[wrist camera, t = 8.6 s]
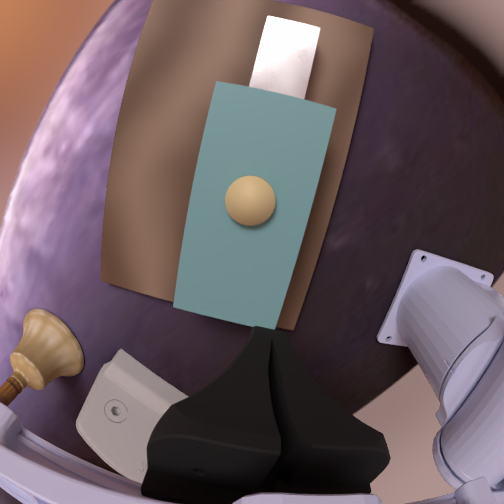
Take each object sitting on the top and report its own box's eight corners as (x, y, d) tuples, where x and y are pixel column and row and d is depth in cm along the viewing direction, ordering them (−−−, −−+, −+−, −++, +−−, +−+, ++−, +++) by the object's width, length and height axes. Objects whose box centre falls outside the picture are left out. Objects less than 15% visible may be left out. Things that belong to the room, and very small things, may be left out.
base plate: (369, 33, 15) (373, 28, 14) (292, 323, 22) (293, 330, 21) (160, -3, 15) (156, -8, 14) (106, 275, 22) (100, 280, 21)
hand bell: (74, 386, 27) (6, 487, 12) (21, 339, 26) (-60, 423, 11) (94, 346, 25) (3, 470, 10) (32, 292, 23) (-78, 383, 8)
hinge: (257, 436, 27) (227, 519, 19) (232, 440, 30) (203, 513, 22) (117, 345, 24) (59, 431, 16) (107, 359, 27) (57, 433, 19)
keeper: (323, 117, 17) (338, 107, 13) (273, 301, 21) (274, 336, 17) (226, 94, 17) (214, 78, 13) (189, 280, 21) (170, 311, 17)
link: (278, 229, 19) (279, 238, 17) (215, 215, 19) (209, 222, 17) (323, 41, 15) (329, 30, 13) (259, 27, 15) (258, 14, 13)
